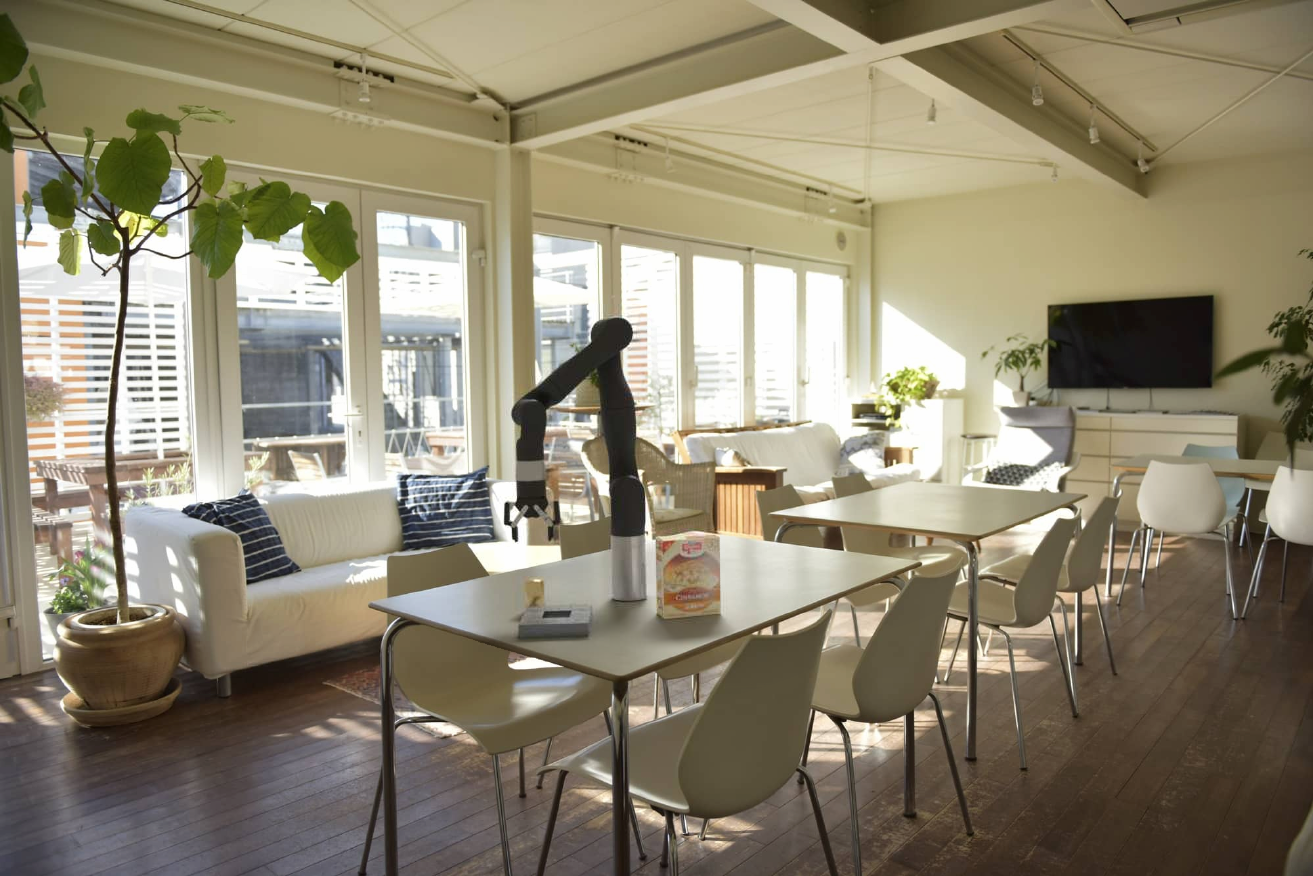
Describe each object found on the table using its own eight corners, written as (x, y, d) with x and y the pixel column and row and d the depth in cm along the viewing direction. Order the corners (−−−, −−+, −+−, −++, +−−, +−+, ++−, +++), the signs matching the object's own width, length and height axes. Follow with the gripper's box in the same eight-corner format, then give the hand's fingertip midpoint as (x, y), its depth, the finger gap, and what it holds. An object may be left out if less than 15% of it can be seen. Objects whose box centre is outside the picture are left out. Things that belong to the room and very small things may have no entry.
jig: (592, 616, 230) (592, 604, 230) (588, 635, 212) (588, 623, 212) (528, 618, 229) (527, 606, 229) (518, 637, 211) (518, 625, 211)
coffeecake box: (664, 620, 225) (662, 540, 223) (656, 613, 231) (654, 536, 230) (722, 614, 229) (720, 536, 228) (712, 607, 236) (710, 532, 234)
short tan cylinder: (546, 608, 239) (545, 577, 238) (544, 613, 234) (543, 582, 234) (526, 609, 239) (525, 578, 238) (524, 613, 234) (523, 582, 233)
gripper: (560, 475, 238) (562, 538, 239) (505, 477, 238) (507, 539, 239) (557, 478, 231) (559, 543, 232) (500, 480, 231) (502, 544, 232)
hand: (533, 541), depth 235 cm, fingers open, 8 cm apart
